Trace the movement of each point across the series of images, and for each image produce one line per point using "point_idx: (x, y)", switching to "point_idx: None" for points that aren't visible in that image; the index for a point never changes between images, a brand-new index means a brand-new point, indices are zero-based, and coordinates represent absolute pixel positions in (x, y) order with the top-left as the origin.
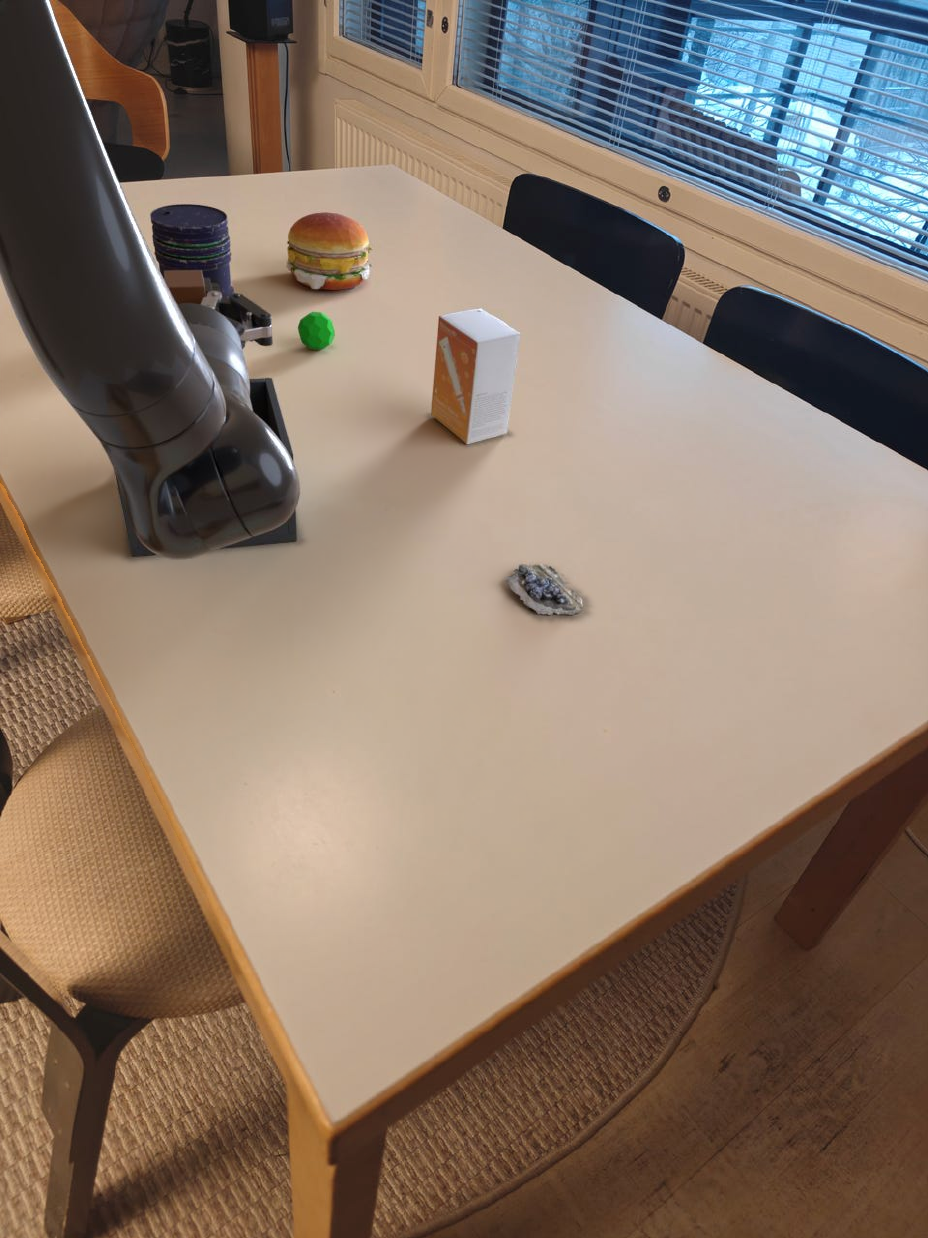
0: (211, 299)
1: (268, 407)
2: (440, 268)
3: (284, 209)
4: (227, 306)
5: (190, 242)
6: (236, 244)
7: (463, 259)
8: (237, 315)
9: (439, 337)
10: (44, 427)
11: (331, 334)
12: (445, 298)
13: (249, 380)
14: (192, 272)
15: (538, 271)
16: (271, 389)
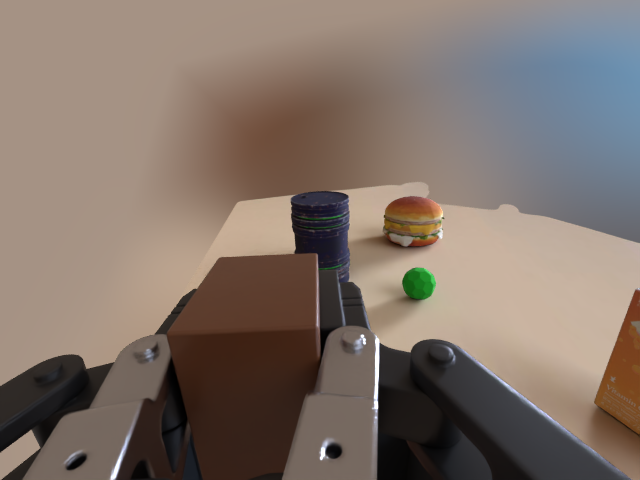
0: (345, 429)
1: (418, 467)
2: (487, 229)
3: (374, 201)
4: (403, 401)
5: (318, 216)
6: None
7: (499, 223)
8: (440, 434)
9: (633, 316)
10: None
11: (433, 287)
12: (505, 250)
13: None
14: (290, 262)
15: (563, 228)
16: None
